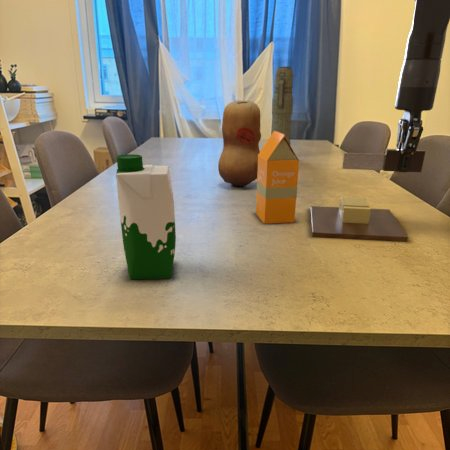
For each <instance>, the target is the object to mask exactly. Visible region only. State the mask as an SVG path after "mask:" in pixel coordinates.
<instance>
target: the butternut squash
mask: <svg viewBox="0 0 450 450" xmlns="http://www.w3.org/2000/svg"><path fill="white" fill-rule="evenodd" d="M222 115H223V116H222V124H221V134H222V140H223V142H222V143H223V146H222V150H221V153H220V156H219V158H218V164H217V165H218V166H217V167H218V168H217V169H218V174H219V176H220V178H221V179H222V180H223V181H224V182H225V184H230V185H232V186H235V187H247V186H248V185H250V184H251V183H252V182H255V181H257V172H258V154H259V153H260V151H261V149H260V146H259V143H260V141H261V138H262V133H261V109H260V106H258V105H257V103H256V102H254V101H252V100H235V101H231V102H228V103H227V104H226V106H225V107H224V109H223V113H222Z"/></svg>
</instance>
